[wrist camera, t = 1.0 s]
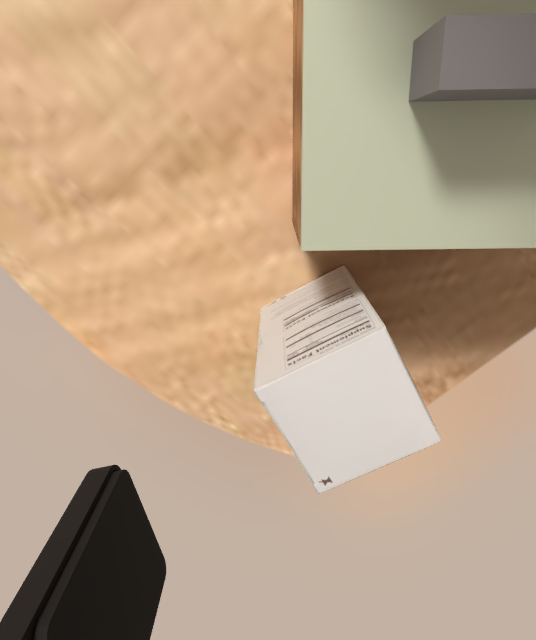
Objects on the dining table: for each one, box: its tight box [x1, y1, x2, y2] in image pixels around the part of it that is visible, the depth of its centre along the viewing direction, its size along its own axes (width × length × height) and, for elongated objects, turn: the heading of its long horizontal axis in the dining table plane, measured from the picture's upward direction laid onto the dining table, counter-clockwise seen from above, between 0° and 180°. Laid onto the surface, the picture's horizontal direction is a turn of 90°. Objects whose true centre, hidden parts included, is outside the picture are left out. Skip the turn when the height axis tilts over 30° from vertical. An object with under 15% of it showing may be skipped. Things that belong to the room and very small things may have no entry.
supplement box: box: [254, 265, 441, 493], centre depth 37 cm, size 10×9×17 cm
